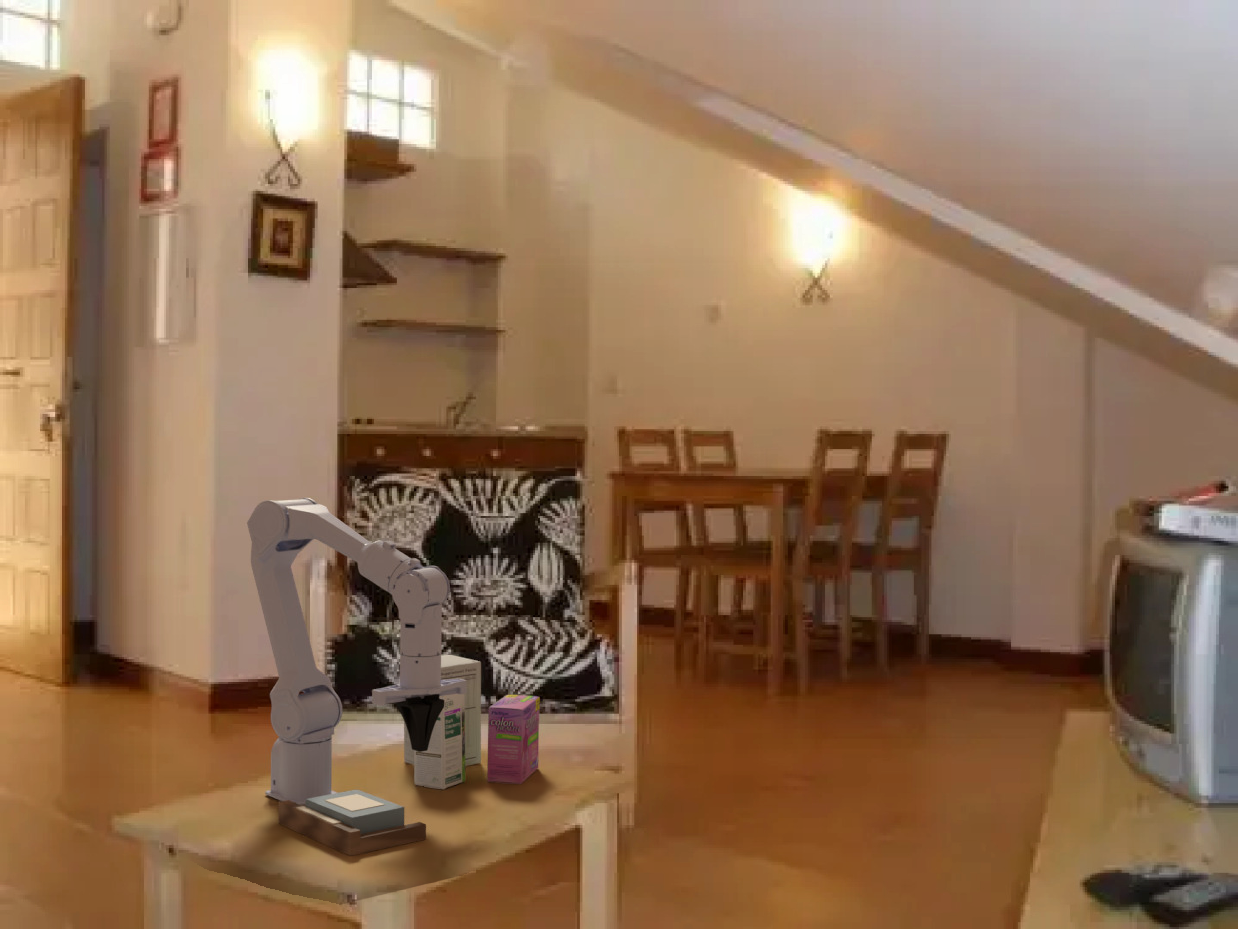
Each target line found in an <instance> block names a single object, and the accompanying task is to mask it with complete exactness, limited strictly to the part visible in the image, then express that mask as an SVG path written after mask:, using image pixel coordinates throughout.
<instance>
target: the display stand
mask: <svg viewBox="0 0 1238 929" xmlns="http://www.w3.org/2000/svg"><path fill="white" fill-rule="evenodd" d="M278 824H279V825H281V826H283V827H285V828H288V829H290V830H292V831H295V832H296V833H298V834H301V835H304V836H306V837H307V838H310V839H312V840H314V841H317V842H319V843H321V844H323V845H326V846H327V847H330V848H332V849H335V850H336V851H339V852H341V853H343V854H346V855H347V856H349V857H350V856H356V855H359V854H364V853H369V852H374V851H378V850H383V849H387V848H393V847H397V846H402V845H405V844H406V845H407V844H411V843H416V842H419V841H424V840H427V824H426V823H423V822H421V821H417V822H414V823H413V822H412V823H409V824H408V823H407V824H404V825H403V826H398V827H393V828H388V829H383V830H379V831H374V832H369V833H364V834H360V833H361V830H358V829H356V828H354V827H351V826H349V825H347V824H344V823H342V822H341V821H338V820H336V819H334V818H331V817H329V816H327V815H324V814H322V813H319V812H317V811H315V810H312V809H310V808H308V807H306V804H304V805H299V804H297V803H294V802H292V801H290V800H287V801H278Z"/></svg>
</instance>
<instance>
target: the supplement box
mask: <svg viewBox="0 0 1238 929" xmlns="http://www.w3.org/2000/svg"><path fill="white" fill-rule="evenodd" d="M448 679H463V680H466V681H467V693H466V694H465V767H467V766H472V765H477V764H481V763H482V709H481V708H482V689H481V688H482V685H481V684H482V662H481V661H480V660H479V661H478V660H476V659H475V660H474V659H471V658H466V657H462V656H457V655H453V654H445V655H443V654H442V655H441V680H448ZM403 724H404V725H403V752H404V753H403V761H404V763H407V764H409V765H413V766H414V750H412V746H411V742H410V737H409V733H408V730H407V727H406V724H405V722H404V721H403Z"/></svg>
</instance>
